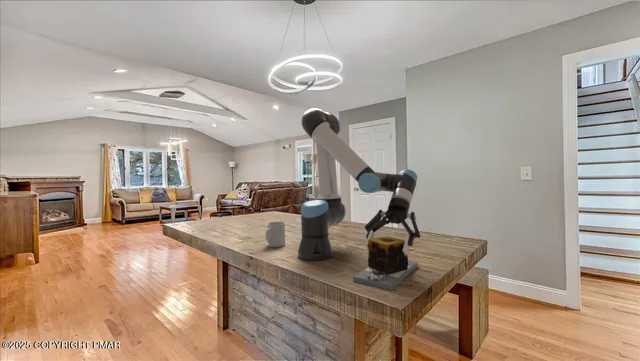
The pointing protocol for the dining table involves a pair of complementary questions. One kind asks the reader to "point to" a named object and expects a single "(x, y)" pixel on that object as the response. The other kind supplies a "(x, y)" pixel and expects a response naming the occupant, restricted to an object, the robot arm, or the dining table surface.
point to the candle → (387, 255)
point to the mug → (275, 234)
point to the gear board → (383, 277)
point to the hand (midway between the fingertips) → (385, 250)
